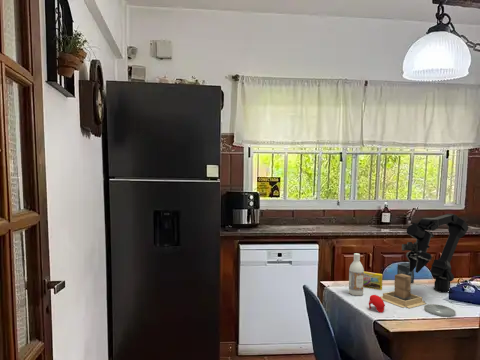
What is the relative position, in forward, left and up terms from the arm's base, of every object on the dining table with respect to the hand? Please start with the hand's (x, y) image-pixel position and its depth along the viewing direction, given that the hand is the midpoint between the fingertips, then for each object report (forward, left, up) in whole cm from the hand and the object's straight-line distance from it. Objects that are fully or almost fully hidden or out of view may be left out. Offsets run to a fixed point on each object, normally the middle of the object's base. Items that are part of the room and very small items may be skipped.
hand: (413, 272), depth 175 cm
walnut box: (+8, +5, -12) cm, 16 cm away
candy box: (+16, -16, -12) cm, 26 cm away
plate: (-1, +19, -12) cm, 23 cm away
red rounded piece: (+26, +15, -12) cm, 33 cm away
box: (-10, -22, -12) cm, 27 cm away
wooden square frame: (+8, +5, -12) cm, 16 cm away
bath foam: (+26, -6, -12) cm, 30 cm away
